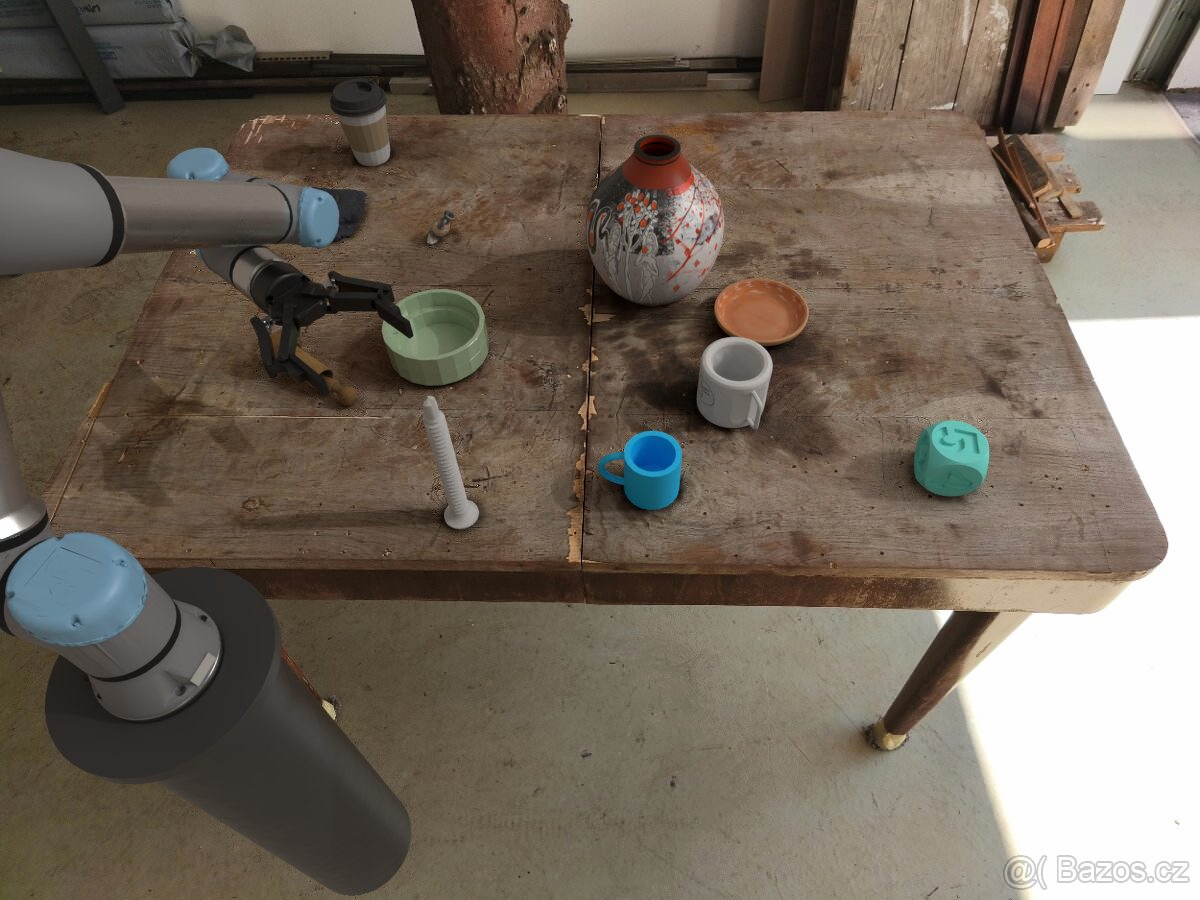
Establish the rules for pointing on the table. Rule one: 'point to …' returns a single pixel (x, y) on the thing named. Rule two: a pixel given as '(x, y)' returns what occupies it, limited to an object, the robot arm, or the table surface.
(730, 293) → the saucer
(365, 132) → the coffee cup
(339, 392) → the mortar and pestle
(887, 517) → the table surface
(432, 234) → the vase
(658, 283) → the vase
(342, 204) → the dark slate chunk
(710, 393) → the mug
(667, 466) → the mug
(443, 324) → the bowl
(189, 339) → the table surface
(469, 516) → the screw
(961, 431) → the decorative dice
